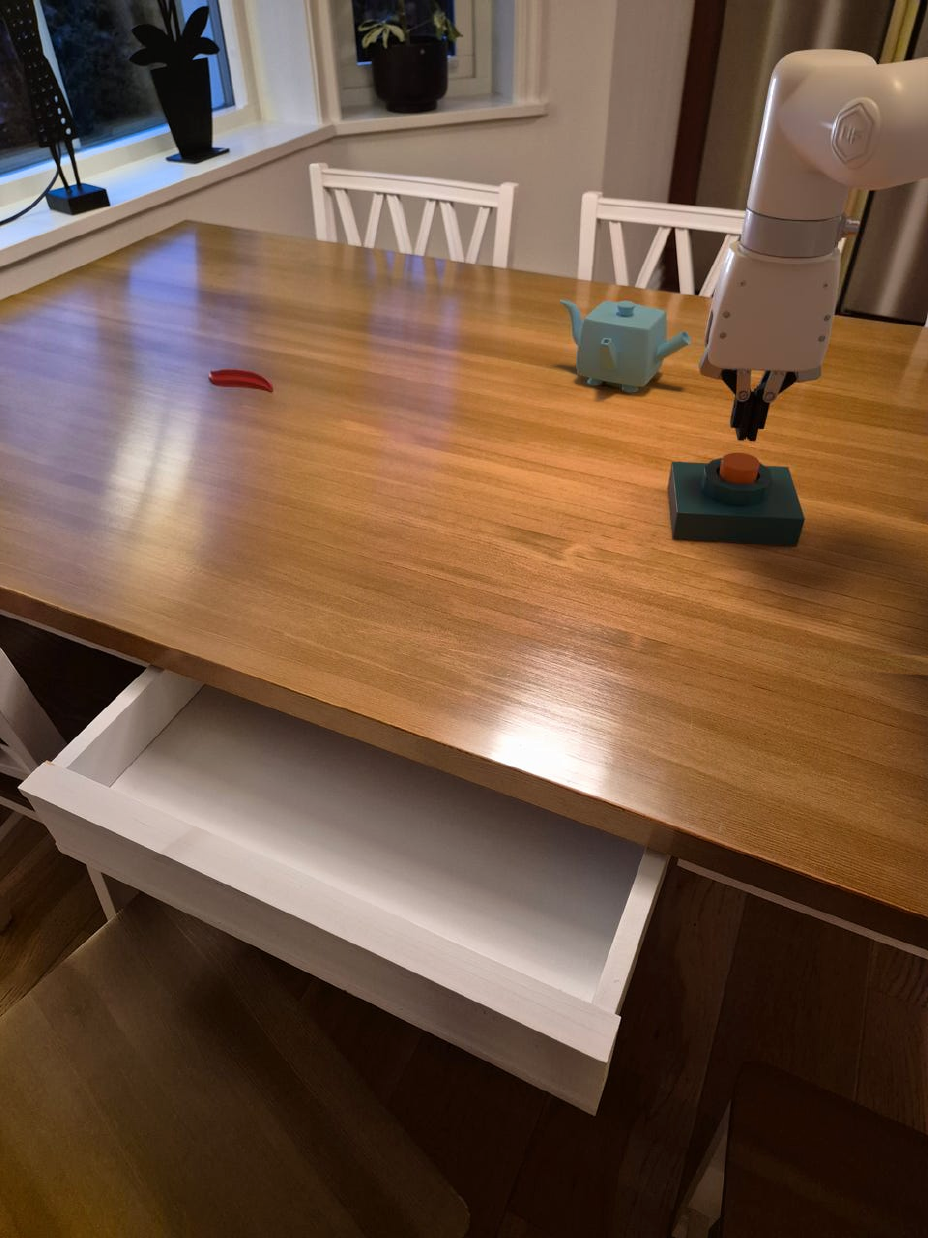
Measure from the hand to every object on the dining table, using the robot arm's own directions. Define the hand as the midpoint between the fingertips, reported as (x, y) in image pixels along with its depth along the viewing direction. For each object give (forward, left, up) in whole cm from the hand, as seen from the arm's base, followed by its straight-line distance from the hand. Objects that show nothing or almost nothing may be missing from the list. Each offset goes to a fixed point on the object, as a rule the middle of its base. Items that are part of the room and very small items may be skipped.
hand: (744, 433), depth 80 cm
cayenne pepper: (+62, -27, -9) cm, 69 cm away
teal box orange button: (0, 0, -9) cm, 9 cm away
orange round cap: (0, 0, -5) cm, 5 cm away
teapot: (+11, -32, -9) cm, 35 cm away
